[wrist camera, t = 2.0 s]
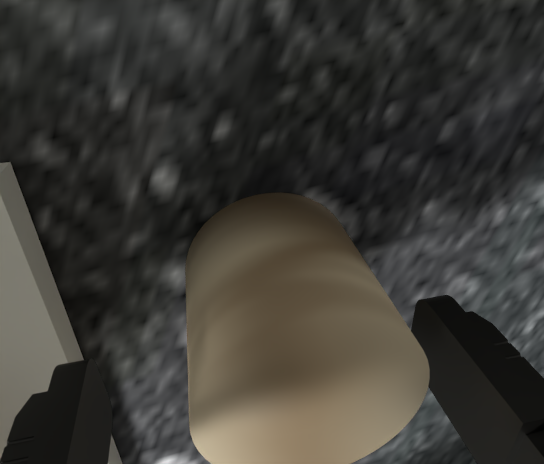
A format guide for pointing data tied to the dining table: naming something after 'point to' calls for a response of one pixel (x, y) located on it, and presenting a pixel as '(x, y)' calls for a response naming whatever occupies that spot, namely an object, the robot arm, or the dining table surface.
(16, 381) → the base board
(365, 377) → the birch cylinder
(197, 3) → the dining table surface
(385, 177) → the dining table surface
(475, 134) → the dining table surface
